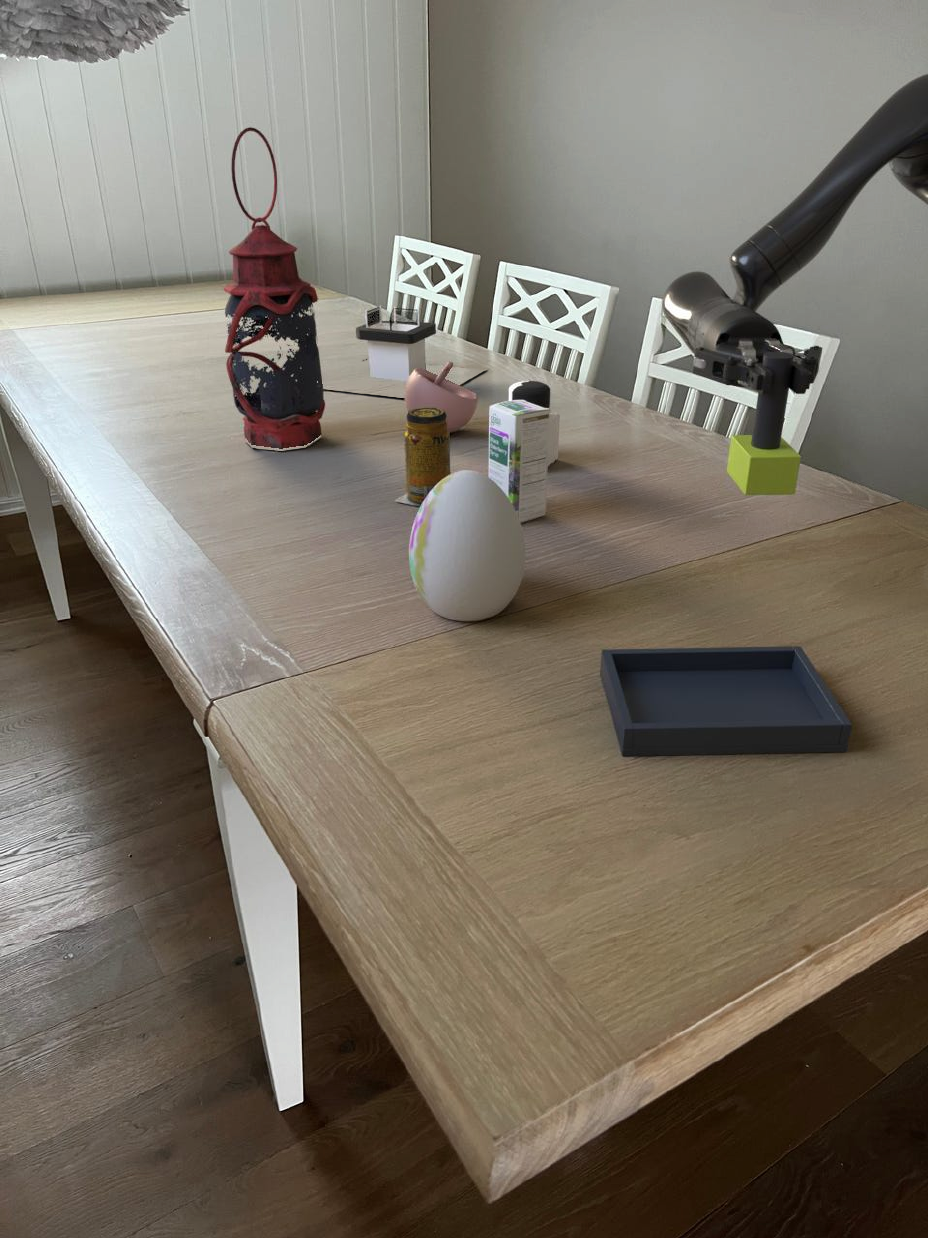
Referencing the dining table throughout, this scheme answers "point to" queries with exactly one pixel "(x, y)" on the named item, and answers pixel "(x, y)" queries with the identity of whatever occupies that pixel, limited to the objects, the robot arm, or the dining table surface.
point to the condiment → (425, 453)
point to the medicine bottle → (541, 397)
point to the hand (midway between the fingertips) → (785, 383)
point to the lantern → (273, 335)
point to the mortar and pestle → (440, 396)
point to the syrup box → (520, 454)
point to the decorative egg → (467, 548)
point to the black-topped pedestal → (395, 343)
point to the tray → (720, 702)
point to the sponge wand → (767, 439)
